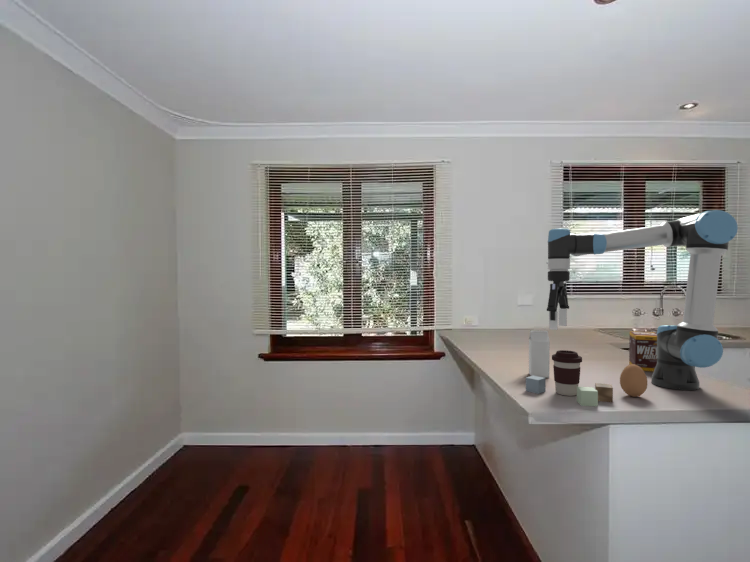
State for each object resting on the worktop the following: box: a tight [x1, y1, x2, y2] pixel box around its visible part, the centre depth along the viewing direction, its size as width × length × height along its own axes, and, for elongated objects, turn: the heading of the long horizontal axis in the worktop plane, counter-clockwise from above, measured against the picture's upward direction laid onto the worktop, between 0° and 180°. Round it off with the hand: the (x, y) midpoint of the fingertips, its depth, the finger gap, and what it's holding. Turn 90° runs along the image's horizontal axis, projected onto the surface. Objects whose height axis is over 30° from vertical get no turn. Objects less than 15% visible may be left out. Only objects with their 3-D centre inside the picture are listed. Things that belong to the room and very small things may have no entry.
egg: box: [619, 364, 648, 398], centre depth 150 cm, size 8×8×11 cm
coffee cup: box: [551, 349, 583, 397], centre depth 154 cm, size 10×10×15 cm
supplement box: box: [628, 330, 657, 373], centre depth 194 cm, size 10×15×16 cm
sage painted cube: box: [576, 386, 599, 407], centre depth 142 cm, size 5×5×5 cm
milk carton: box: [528, 329, 551, 378], centre depth 180 cm, size 7×7×19 cm
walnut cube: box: [594, 382, 614, 404], centre depth 146 cm, size 5×5×5 cm
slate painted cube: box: [525, 375, 547, 394], centre depth 157 cm, size 5×5×5 cm
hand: (558, 327), depth 160 cm, fingers open, 13 cm apart
